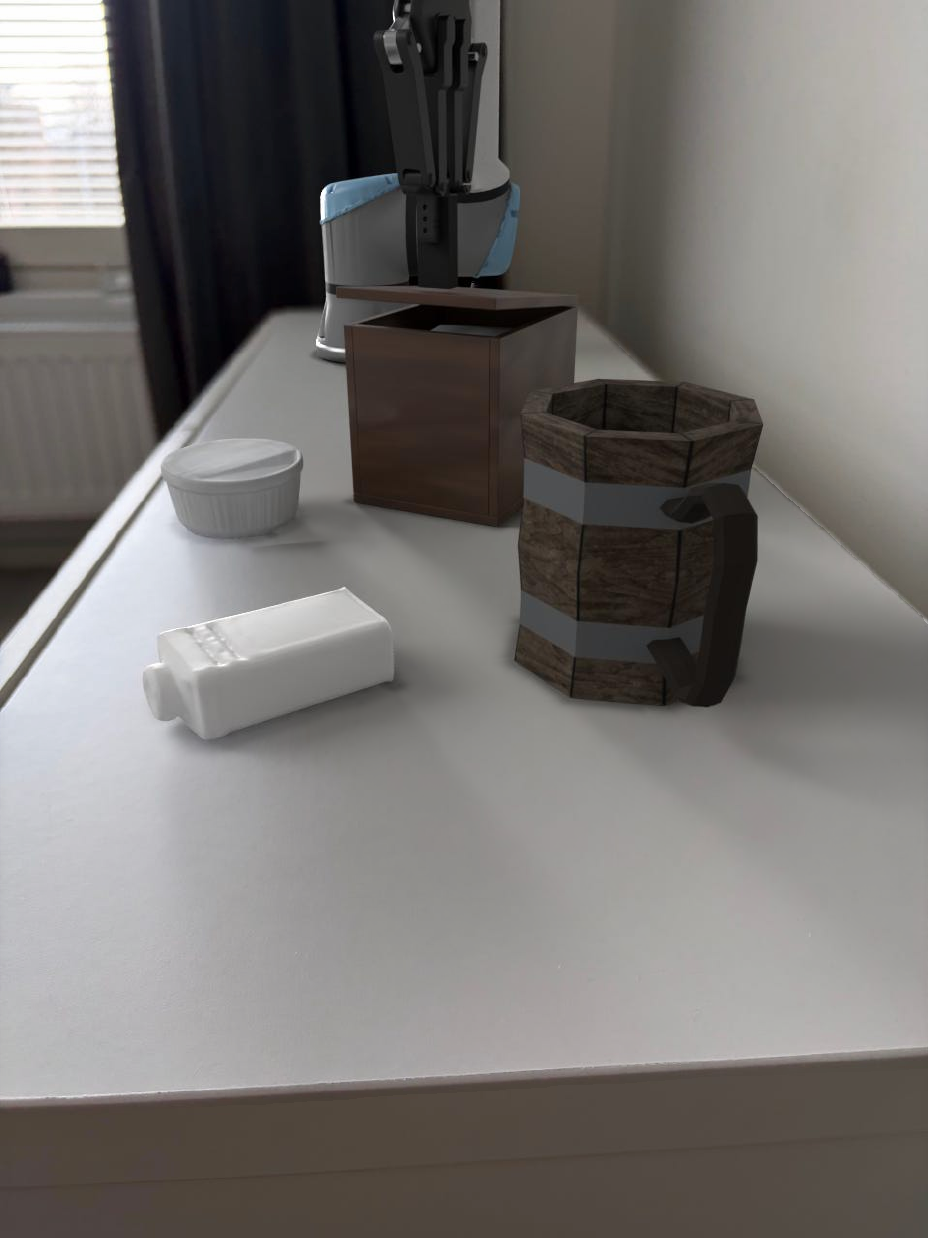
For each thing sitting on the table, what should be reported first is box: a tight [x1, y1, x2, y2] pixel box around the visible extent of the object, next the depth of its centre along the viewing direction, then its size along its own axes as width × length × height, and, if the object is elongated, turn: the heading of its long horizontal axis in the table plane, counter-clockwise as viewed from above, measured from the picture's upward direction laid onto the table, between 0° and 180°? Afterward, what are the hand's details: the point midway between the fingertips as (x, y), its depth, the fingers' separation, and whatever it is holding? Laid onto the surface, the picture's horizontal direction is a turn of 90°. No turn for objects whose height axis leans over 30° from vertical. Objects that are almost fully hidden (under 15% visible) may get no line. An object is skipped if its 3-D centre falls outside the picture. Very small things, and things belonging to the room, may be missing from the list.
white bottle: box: [142, 586, 395, 741], centre depth 53 cm, size 6×13×4 cm, turn 123°
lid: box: [336, 285, 579, 310], centre depth 79 cm, size 18×14×1 cm
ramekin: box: [160, 438, 304, 540], centre depth 78 cm, size 11×11×5 cm
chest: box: [344, 304, 579, 527], centre depth 83 cm, size 17×14×15 cm
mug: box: [513, 378, 764, 708], centre depth 53 cm, size 20×14×15 cm
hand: (438, 286), depth 75 cm, fingers closed
